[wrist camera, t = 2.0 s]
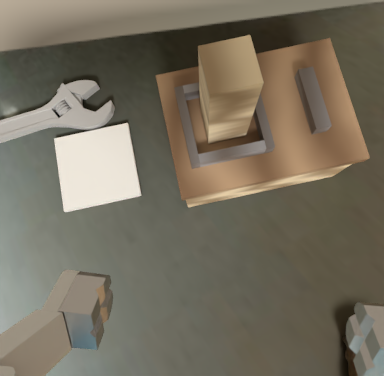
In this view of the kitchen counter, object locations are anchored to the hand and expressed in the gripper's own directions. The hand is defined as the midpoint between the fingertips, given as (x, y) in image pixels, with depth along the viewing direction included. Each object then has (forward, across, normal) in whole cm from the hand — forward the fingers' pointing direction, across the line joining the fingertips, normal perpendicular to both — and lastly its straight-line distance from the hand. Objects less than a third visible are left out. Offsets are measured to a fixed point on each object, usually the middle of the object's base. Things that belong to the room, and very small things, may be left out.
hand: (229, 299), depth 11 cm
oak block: (+23, 0, +3) cm, 23 cm away
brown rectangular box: (+30, -3, +8) cm, 31 cm away
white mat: (+26, +14, +12) cm, 32 cm away
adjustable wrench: (+30, +26, +9) cm, 41 cm away
